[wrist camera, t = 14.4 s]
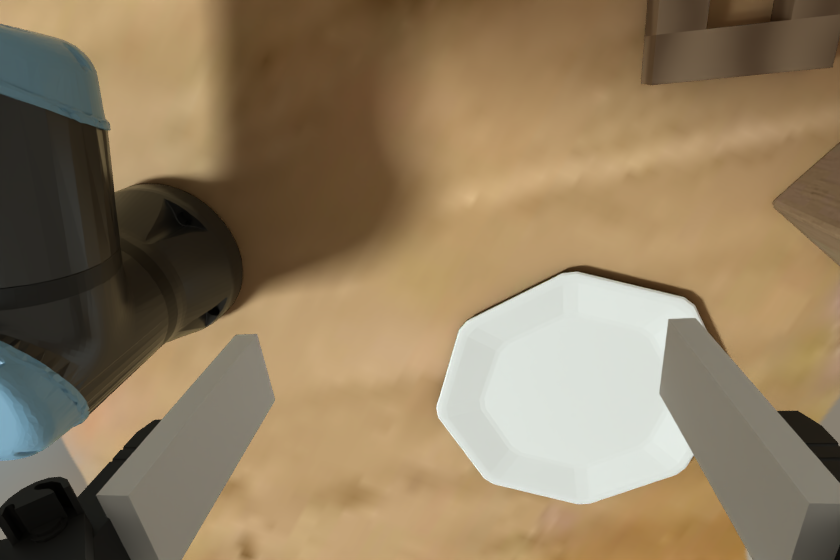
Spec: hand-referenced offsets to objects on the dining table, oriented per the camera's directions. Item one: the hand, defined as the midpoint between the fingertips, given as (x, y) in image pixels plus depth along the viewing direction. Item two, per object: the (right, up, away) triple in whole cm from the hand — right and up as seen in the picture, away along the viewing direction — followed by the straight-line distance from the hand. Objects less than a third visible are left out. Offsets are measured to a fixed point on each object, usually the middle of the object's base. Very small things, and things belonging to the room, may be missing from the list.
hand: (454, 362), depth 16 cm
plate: (+15, -9, +35) cm, 39 cm away
